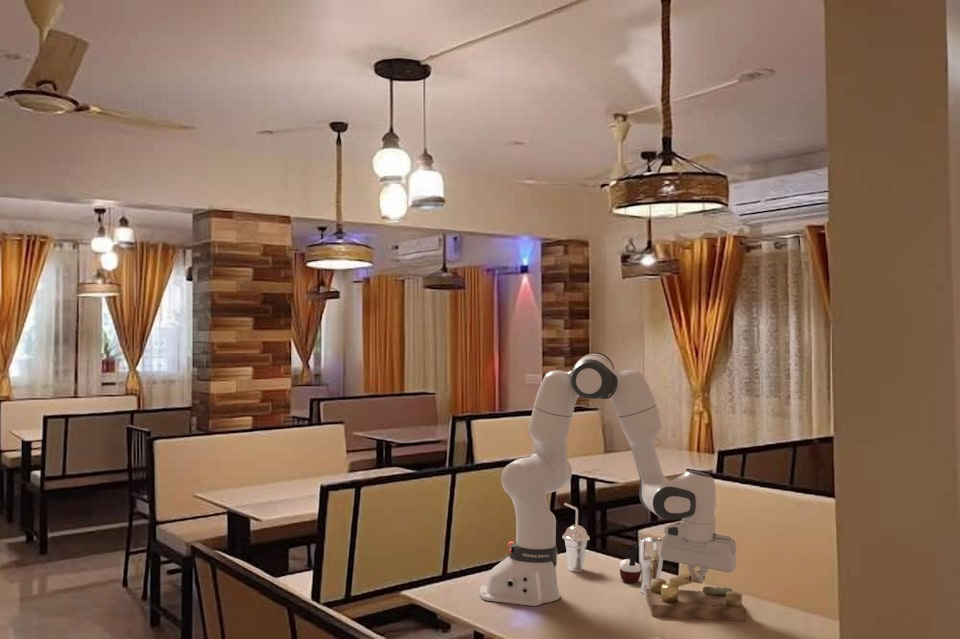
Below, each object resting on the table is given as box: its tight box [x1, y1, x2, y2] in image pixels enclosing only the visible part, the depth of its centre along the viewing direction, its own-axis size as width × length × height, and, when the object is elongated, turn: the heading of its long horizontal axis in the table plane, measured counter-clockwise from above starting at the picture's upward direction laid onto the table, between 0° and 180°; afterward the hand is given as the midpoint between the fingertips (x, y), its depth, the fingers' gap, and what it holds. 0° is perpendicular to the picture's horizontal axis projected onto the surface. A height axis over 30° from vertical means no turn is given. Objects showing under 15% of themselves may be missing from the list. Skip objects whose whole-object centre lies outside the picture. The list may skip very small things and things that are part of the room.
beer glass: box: [638, 536, 664, 595], centre depth 236 cm, size 7×7×15 cm
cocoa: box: [619, 544, 641, 584], centre depth 245 cm, size 10×6×12 cm, turn 162°
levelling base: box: [645, 578, 747, 622], centre depth 221 cm, size 24×14×6 cm, turn 85°
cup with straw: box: [562, 502, 590, 573], centre depth 257 cm, size 8×9×20 cm
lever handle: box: [661, 570, 706, 602], centre depth 222 cm, size 16×4×5 cm, turn 129°
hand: (697, 582), depth 222 cm, fingers closed
